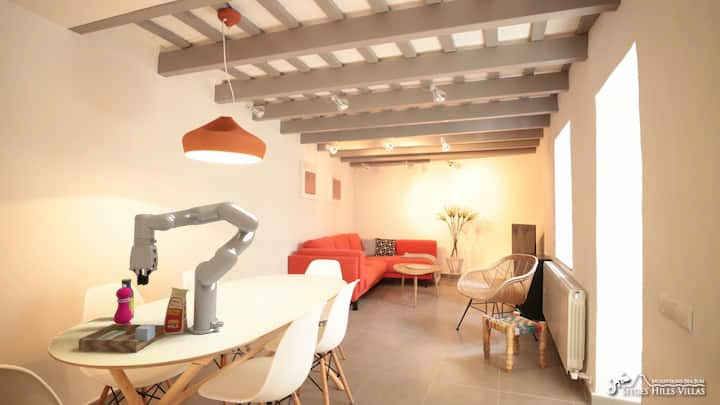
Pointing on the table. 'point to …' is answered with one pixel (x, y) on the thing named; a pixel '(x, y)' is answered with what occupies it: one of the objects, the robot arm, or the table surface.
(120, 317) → the pepper mill
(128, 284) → the sauce bottle
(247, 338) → the table surface
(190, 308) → the table surface
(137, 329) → the block
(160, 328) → the brown wooden tray
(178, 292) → the paper food bag
